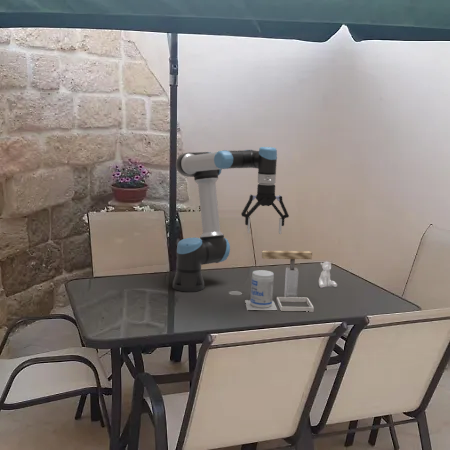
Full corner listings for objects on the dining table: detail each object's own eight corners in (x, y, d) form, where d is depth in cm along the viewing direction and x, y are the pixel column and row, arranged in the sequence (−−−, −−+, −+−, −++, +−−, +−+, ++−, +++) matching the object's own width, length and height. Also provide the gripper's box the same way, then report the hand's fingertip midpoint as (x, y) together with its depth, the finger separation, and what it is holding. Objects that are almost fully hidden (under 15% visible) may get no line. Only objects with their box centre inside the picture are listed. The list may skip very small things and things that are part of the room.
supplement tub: (247, 306, 262) (248, 273, 259) (253, 300, 270) (255, 268, 268) (268, 309, 258) (270, 276, 256) (274, 303, 267) (276, 271, 264)
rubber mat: (247, 310, 258) (247, 309, 258) (244, 301, 270) (244, 300, 270) (277, 310, 258) (277, 310, 258) (273, 301, 271) (273, 300, 271)
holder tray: (280, 311, 258) (281, 307, 257) (276, 301, 272) (276, 296, 271) (313, 312, 259) (313, 307, 258) (307, 301, 273) (307, 297, 272)
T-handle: (309, 267, 276) (310, 251, 275) (311, 269, 273) (312, 252, 272) (261, 267, 274) (262, 250, 273) (262, 269, 271) (262, 252, 270)
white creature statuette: (320, 288, 294) (321, 264, 292) (312, 283, 302) (314, 260, 300) (337, 287, 297) (339, 263, 295) (329, 282, 305) (331, 259, 303)
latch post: (285, 299, 274) (287, 270, 271) (284, 296, 279) (285, 267, 276) (296, 300, 274) (298, 270, 272) (294, 296, 279) (296, 267, 276)
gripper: (237, 184, 250) (235, 234, 254) (297, 185, 251) (294, 235, 255) (236, 182, 257) (234, 230, 261) (294, 183, 259) (291, 231, 263)
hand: (264, 233), depth 258 cm, fingers open, 13 cm apart
